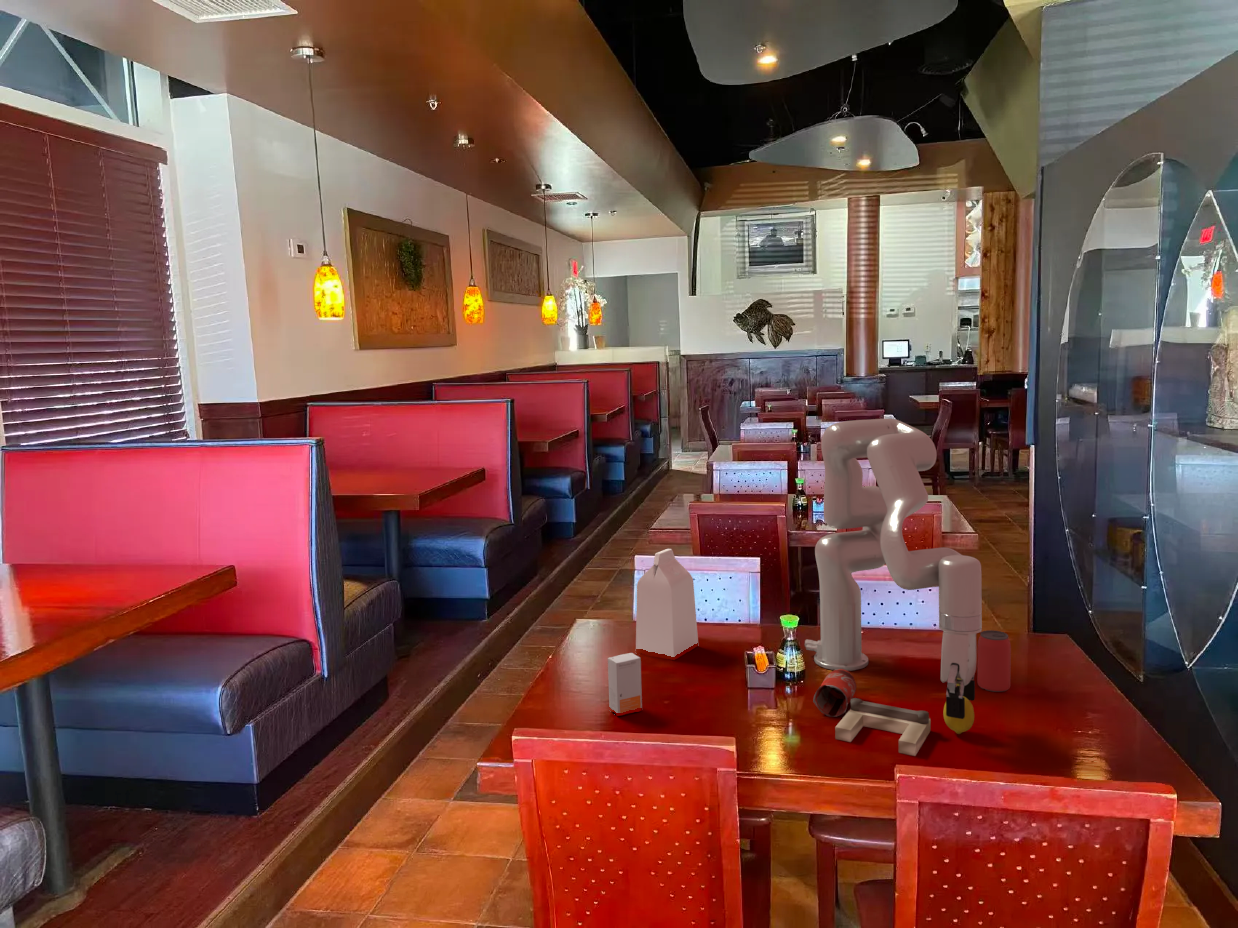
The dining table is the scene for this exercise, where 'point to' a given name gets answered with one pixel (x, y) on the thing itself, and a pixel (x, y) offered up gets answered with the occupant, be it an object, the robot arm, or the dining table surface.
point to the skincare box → (624, 682)
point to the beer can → (994, 661)
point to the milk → (666, 607)
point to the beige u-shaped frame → (886, 723)
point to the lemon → (961, 724)
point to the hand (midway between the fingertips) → (960, 707)
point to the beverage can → (835, 691)
